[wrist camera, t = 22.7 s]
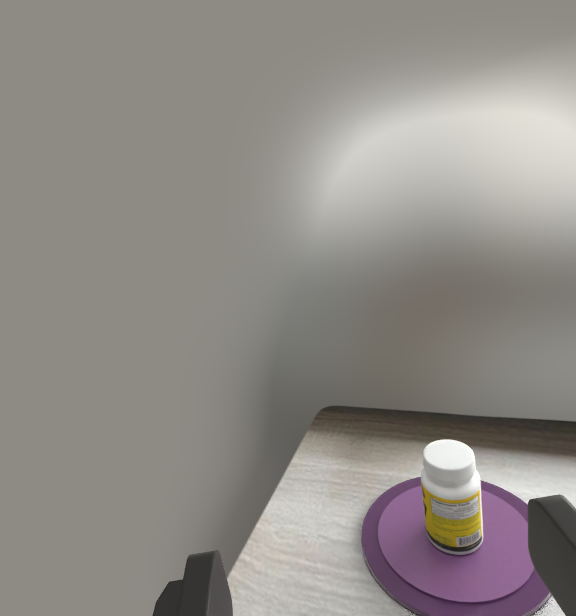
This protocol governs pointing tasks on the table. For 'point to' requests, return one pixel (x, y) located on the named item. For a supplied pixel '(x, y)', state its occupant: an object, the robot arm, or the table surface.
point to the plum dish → (453, 557)
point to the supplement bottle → (452, 497)
